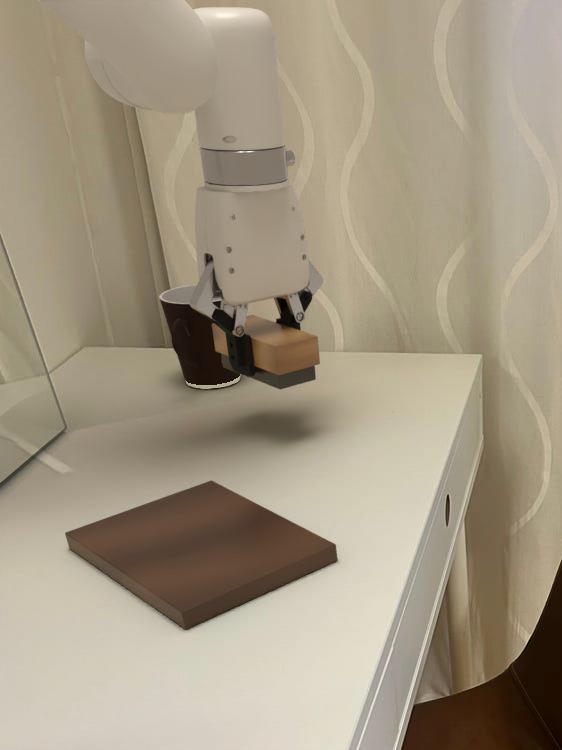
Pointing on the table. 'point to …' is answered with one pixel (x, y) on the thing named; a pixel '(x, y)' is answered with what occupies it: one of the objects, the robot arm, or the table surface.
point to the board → (200, 551)
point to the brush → (276, 352)
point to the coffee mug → (194, 338)
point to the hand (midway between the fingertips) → (267, 365)
